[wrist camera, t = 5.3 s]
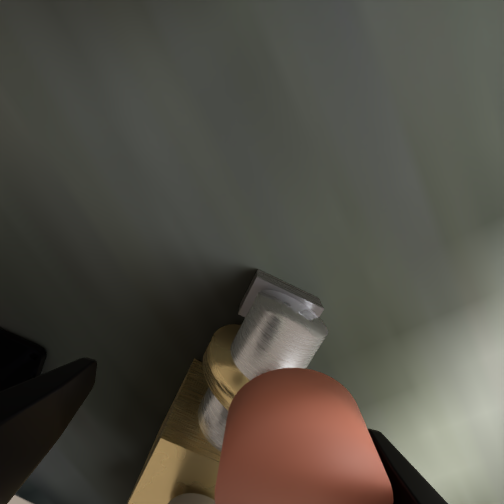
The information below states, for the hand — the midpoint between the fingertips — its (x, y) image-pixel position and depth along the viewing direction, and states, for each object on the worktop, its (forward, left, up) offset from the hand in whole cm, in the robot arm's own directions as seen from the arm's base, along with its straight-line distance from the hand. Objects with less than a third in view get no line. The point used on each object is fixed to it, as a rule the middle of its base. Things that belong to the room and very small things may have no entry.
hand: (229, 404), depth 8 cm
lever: (+2, -3, -2) cm, 4 cm away
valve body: (+2, -8, -7) cm, 11 cm away
